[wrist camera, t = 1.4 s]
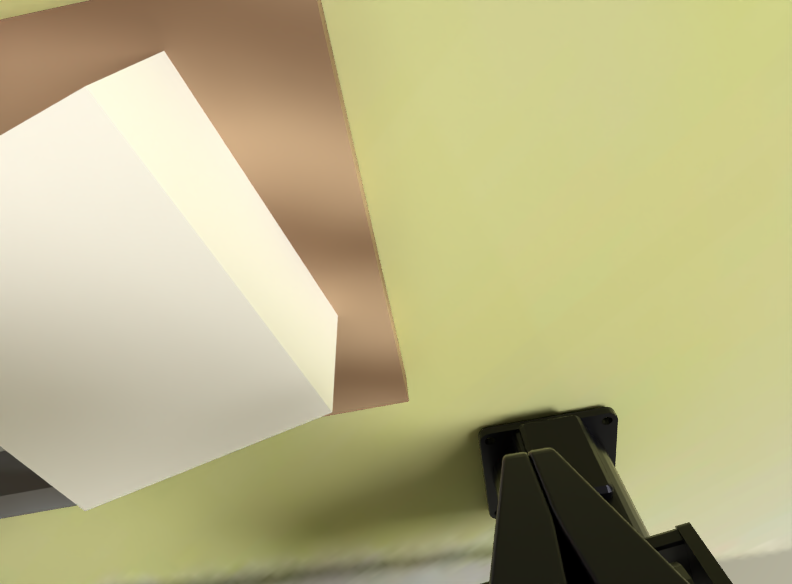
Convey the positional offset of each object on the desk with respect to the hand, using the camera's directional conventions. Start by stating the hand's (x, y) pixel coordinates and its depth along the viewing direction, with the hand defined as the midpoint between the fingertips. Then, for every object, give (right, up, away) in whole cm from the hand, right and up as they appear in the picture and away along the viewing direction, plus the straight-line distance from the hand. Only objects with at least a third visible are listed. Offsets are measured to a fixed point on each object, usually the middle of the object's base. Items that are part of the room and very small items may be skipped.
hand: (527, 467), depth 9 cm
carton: (-11, +4, +9) cm, 15 cm away
